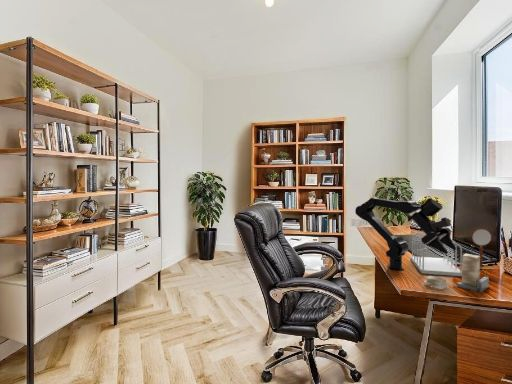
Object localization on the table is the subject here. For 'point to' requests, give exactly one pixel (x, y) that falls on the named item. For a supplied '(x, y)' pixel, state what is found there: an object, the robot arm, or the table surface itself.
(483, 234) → the magnifying glass
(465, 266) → the cream upright block
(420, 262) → the file sorter
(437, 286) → the offcut stack
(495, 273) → the table surface
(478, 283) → the rack
